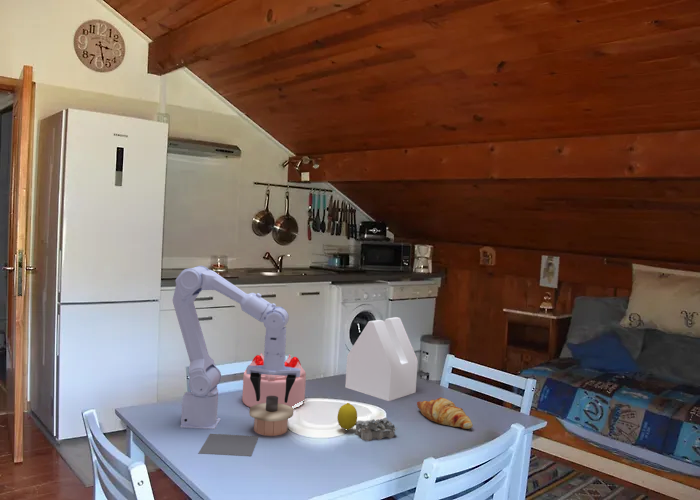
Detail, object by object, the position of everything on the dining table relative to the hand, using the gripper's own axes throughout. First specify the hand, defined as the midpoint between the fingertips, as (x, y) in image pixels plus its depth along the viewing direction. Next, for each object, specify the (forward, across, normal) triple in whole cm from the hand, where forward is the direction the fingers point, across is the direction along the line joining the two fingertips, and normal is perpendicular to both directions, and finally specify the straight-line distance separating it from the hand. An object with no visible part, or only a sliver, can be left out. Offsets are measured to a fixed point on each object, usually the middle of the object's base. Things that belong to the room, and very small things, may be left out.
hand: (272, 400), depth 165 cm
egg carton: (+9, +29, +1) cm, 30 cm away
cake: (+9, -2, +25) cm, 27 cm away
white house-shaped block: (+9, +33, +44) cm, 56 cm away
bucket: (+8, 0, 0) cm, 8 cm away
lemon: (+9, +21, +3) cm, 23 cm away
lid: (+3, 0, 0) cm, 3 cm away
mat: (+8, -9, -12) cm, 17 cm away
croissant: (+9, +50, +16) cm, 54 cm away
